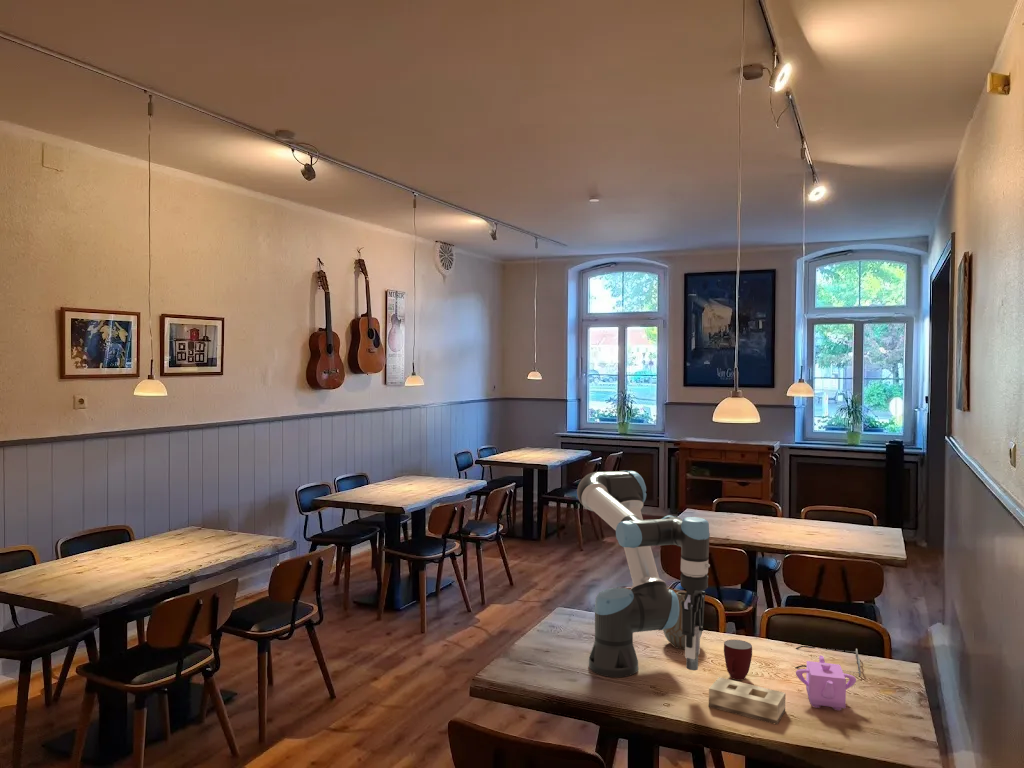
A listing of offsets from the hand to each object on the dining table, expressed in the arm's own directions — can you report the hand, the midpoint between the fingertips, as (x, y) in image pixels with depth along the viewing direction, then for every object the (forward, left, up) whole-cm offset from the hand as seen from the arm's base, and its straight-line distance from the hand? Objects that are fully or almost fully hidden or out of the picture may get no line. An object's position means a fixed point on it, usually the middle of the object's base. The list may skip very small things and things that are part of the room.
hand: (692, 655), depth 206 cm
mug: (+7, +18, -11) cm, 22 cm away
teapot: (+32, +16, -11) cm, 38 cm away
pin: (0, 0, -4) cm, 4 cm away
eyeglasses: (+27, +47, -12) cm, 55 cm away
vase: (-16, +35, -11) cm, 40 cm away
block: (+15, 0, -11) cm, 19 cm away
